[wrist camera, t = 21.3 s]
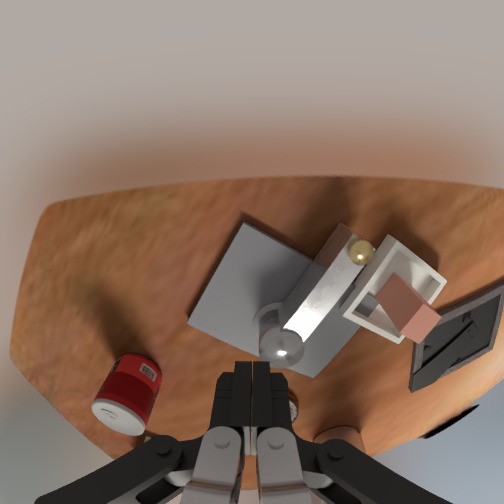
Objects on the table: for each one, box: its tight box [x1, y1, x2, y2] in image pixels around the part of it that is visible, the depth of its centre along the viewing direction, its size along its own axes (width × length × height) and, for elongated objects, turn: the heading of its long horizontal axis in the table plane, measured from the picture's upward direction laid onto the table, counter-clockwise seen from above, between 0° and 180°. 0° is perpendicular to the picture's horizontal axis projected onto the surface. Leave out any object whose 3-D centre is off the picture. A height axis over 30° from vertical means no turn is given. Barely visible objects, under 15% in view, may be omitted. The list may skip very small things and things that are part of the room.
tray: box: [339, 234, 447, 344], centre depth 32 cm, size 11×11×3 cm
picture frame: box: [409, 280, 504, 393], centre depth 36 cm, size 16×2×21 cm
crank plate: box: [187, 221, 379, 378], centre depth 34 cm, size 20×15×1 cm
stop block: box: [375, 272, 442, 344], centre depth 29 cm, size 4×4×8 cm
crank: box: [259, 222, 376, 369], centre depth 29 cm, size 17×5×6 cm, turn 149°
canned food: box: [92, 353, 162, 436], centre depth 34 cm, size 8×8×11 cm
